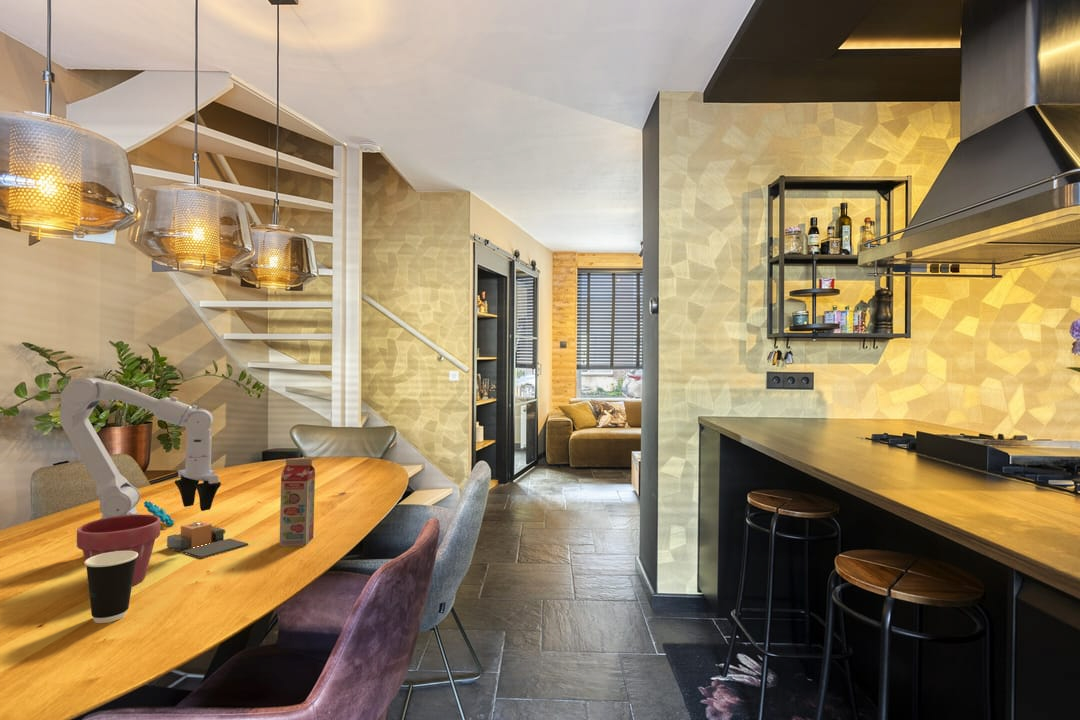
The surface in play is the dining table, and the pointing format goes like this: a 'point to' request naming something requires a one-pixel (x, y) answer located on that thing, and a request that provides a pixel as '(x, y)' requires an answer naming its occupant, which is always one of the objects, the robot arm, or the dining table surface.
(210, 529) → the collar
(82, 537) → the plant pot
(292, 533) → the juice carton
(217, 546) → the panel
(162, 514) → the gear
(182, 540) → the vise
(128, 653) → the dining table surface
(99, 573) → the dixie cup
